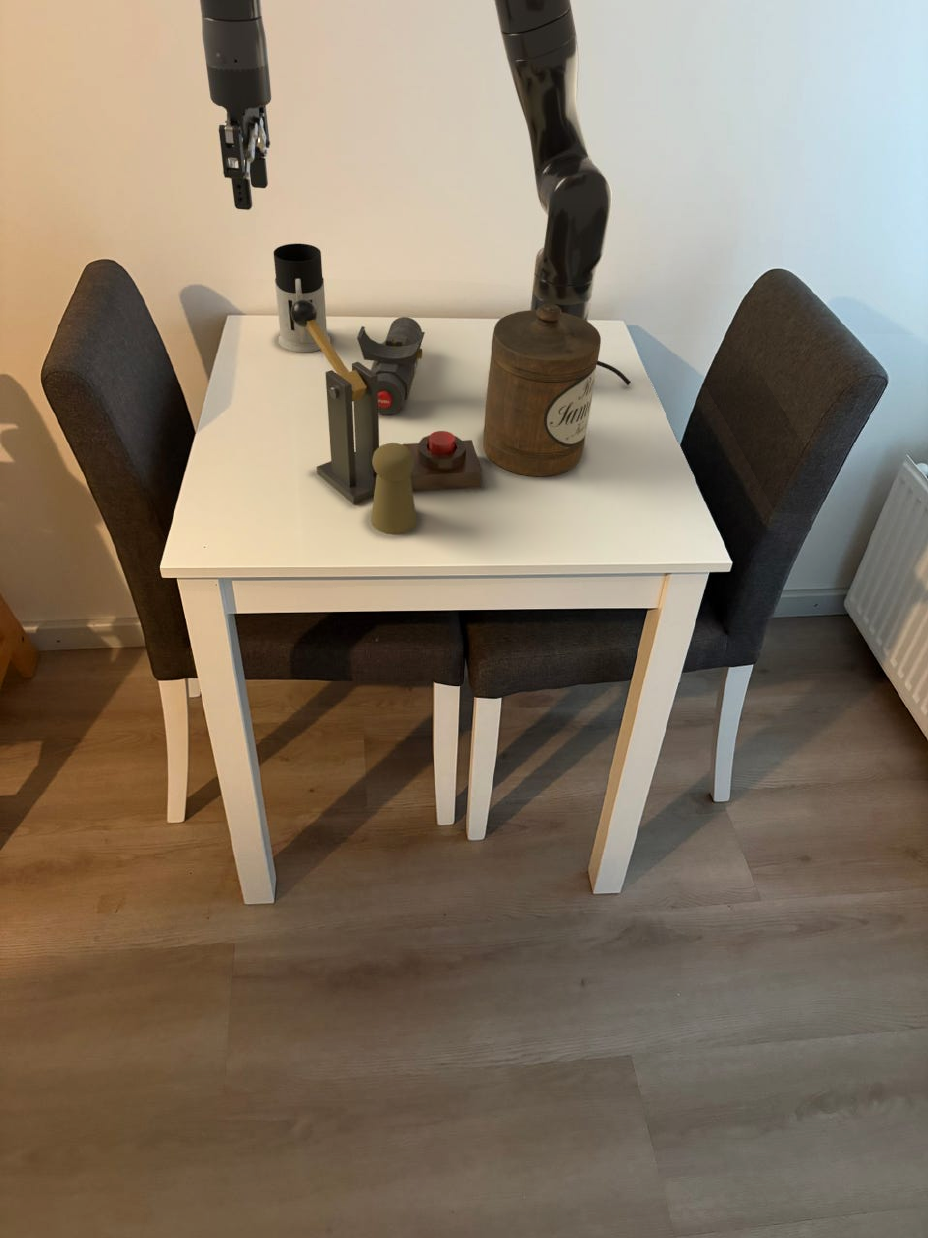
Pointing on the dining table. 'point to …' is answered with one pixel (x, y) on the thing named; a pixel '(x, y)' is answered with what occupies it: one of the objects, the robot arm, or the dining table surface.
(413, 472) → the lamp base
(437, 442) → the button
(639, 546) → the dining table surface
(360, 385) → the lever
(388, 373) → the laser sight
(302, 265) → the glass holder
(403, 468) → the tan wooden game pawn
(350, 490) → the switch bracket
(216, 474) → the dining table surface
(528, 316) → the wooden container
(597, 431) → the dining table surface
